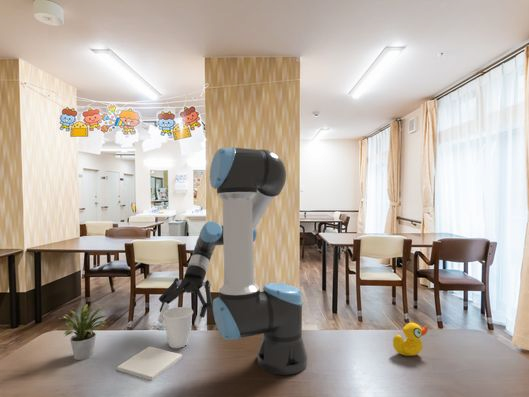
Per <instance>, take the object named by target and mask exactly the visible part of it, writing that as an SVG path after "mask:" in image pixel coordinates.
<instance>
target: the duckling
mask: <svg viewBox="0 0 529 397" xmlns="http://www.w3.org/2000/svg"><path fill="white" fill-rule="evenodd" d="M428 331H429V330H428V326H427V325H424V327H421V326H420V325H419V324H417V323H415V322H409V323H407V324H405V325H404V326H403V328H402V332H403V334H404V336H405V337H406V339H403V337H402V336H401V335H400V334H396V335H395V336H394V337H393V339H392V344H393V345H392V346H393V349H394V350H395V351H396V352H397V353H398V354H399V355H403V356H406V357H413V356H418V355H419V353H420V352H421V351H422V350H423V345H424V344H423V342H422V341H421V337H423V336H425V335H426V334H427V333H428Z"/></svg>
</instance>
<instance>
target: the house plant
mask: <svg viewBox="0 0 529 397" xmlns="http://www.w3.org/2000/svg"><path fill="white" fill-rule="evenodd" d="M95 305H96V304H93V305H92V307H91V308H90V309H89V308H88V306H89V304H88V303H86V304H85V305H83V303H81V307H80V318H79V316H78V314H77V313H76V312H75V311H74V310H72V309H70V311H69V312H68V313H72V316H73V317H74V319H75V320H74V319H73V318H72V317H70V315H68V314H64V316H61V317H60V318H59V320H61V319H62V318H63V319H65V320H67V321H68V322H66V323H65V325H66V326H67V327H71V328H73V330H70V329H69V330H65V332H64V334H63V336H64V337H66V336H68V335H71V334H74V335H72V336H71V337H70V338H69V339H70V344H71V348H72V353H73V359H74V360H77V361H83V360H84V361H85V360H87V359H90V358H91V357H92V356H93V355H94V349H95V345H96V344H95V343H96V338H97V333H96V332H95V331H94V329H95V328H98V327H106V325H105V324H106V321H100V319H102V318H105V317H106V315H101V314H103V313H104V311H101V312H99V311H100V310H101V309H102V308H103V307H104V305H102V306H100V307H99V308H97V309H96V310H95V311H94V312H93V313H92V315H91V316H90V314H91V312H92V310H94V307H95ZM106 312H108V311H105V313H106ZM89 316H90V317H89ZM110 316H111V315H107V317H110ZM98 320H99V321H98ZM75 321H76V322H75Z"/></svg>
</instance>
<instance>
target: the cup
mask: <svg viewBox="0 0 529 397" xmlns="http://www.w3.org/2000/svg"><path fill="white" fill-rule="evenodd" d="M193 314H194V310H193V309H192V308H190V307H186V306H180V307H173V308H168V310H166V311H165V312H164V313H163V316H164V325H165V330H166V336H167V337H166V338H167V342H168V345H169V347H170V348H172V349H182V348H184V347H186V346H187V345H188V343H189V342H188V341H189V337H190V330H191V326H192V325H191V324H192V319H193ZM185 345H186V346H185ZM181 347H182V348H181Z"/></svg>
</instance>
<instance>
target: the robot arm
mask: <svg viewBox="0 0 529 397" xmlns="http://www.w3.org/2000/svg"><path fill="white" fill-rule="evenodd" d="M286 180H287V170H286V166H285V164H284V162H283V161H282V159H281V158H280V157H279V156H278V155H277V154H276V153H274V152H273V151H271V150H268V149H254V148H243V147H235V146H234V147H221V148H218V149H217V150H216V151H215V153H214V155H213V157H212V161H211V163H210V169H209V181H210V182H209V183H210V186H211V188H212V189H215V190H216V195H217V196H218V198H220V199H221V202H222V225H221V224H220V223H219V222H217V221H213V220H211V221H207V222H206V223H204V225H203V226H202V228H201V229H200V231H199V236H198V238H197V239H196V243H195V246H194V248H193V251H192V254H191V257H190V260H189V261H188V265H187V267H186V270H185V271H184V272H185V273H184V277H183V278H182V279H179V278H177V277H175V279H174V280H173V283H172V284H171V285H169V286H168V288H167V289H166V290H165V291H163V293H162V294H161V295H160V296H159V298H158V301H160V302H161V305H160V308H159V312H160V313H159V316H158V318H157V321H158V323H159V324H164V322H165V320H164V316H163V313H164V312H165V311H166V310H169V309H170V305H169V304H170V303H172V302H173V301H174V300H176V299H177V298H178V297H180V296H181V295H184V293H187V294H188V293H191V294H195V293H196V294H197V296H198V300H199V301H200V302H201V305H200V306H199V307H198V311H197V313H196V314H197V315H196V317H195V320H194V326H195V328H197V329H199V327H200V324H201V321H202V318H205V316H206V314H207V310H208V309H210V308H212V313H213V318H214V322H215V326H216V329H217V330H218V333H219V335H220V336H221V337H222V339H224V340H225V341H232V340H241V339H244V338H248V337H253V336H258V335H262V334H263V336H262V341H261V343H260V345H259V349H258V352H257V364H258V366H259V367H260V368H261V369H262V370H264V371H265V372H267V373H269V374H274V375H279V376H288V375H296V374H298V373H301V372H303V370H304V369H306V368H307V366H308V352H307V350H306V349H307V348H306V346H305V342H304V340H303V334H302V333H303V296H302V292H301V290H300V289H299V288H297V287H295V286H293V285H290V284H285V283H281V282H279V283H278V282H271V283H266V284H265V285H264V286H263V288H262V291H261V287H260V286H259V285H258V284H257V283H256V282H255V265H254V264H255V261H254V260H255V258H254V242H255V241H256V239H257V229H256V227H257V226H258V224H259V222H260V221H261V219H262V218H263V216H264V215H265V212H266V211H267V209H268V208H269V206H270V205H271V202H272V201H273V200H274V198H275V197H277V196H279V195H280V194H281V193H282V191H283V189H284V187H285V184H286V182H287V181H286ZM217 246H223V270H224V272H223V273H224V274H223V275H224V276H223V277H224V278H223V280H224V283H223V285H222V286H221V287H220V288H219V291H218V292H219V293H218V294H219V296H217V297H216V298H214V299H212V294H211V286H212V285H211V283H210V281H209V280H208V279H207V280H205V277H206V275H207V271H208V268H209V266H210V262H211V259H212V256H213V254H214V250H215V249H216V247H217ZM203 287H204V289H205V295H206V300H207V302H206V300H205V298H204V296H203V294H202V292H201V290H200V289H201V288H203Z"/></svg>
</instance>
